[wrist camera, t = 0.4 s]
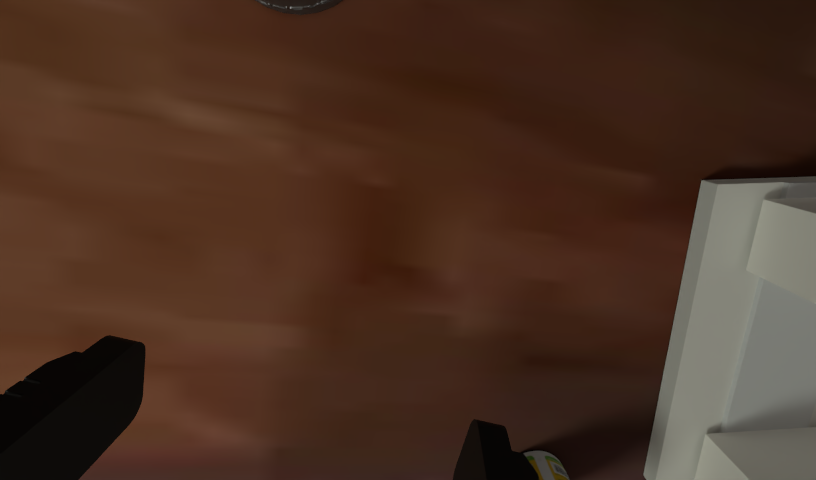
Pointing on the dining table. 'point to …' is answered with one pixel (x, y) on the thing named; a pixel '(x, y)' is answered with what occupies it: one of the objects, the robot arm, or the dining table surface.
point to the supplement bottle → (546, 465)
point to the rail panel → (743, 339)
